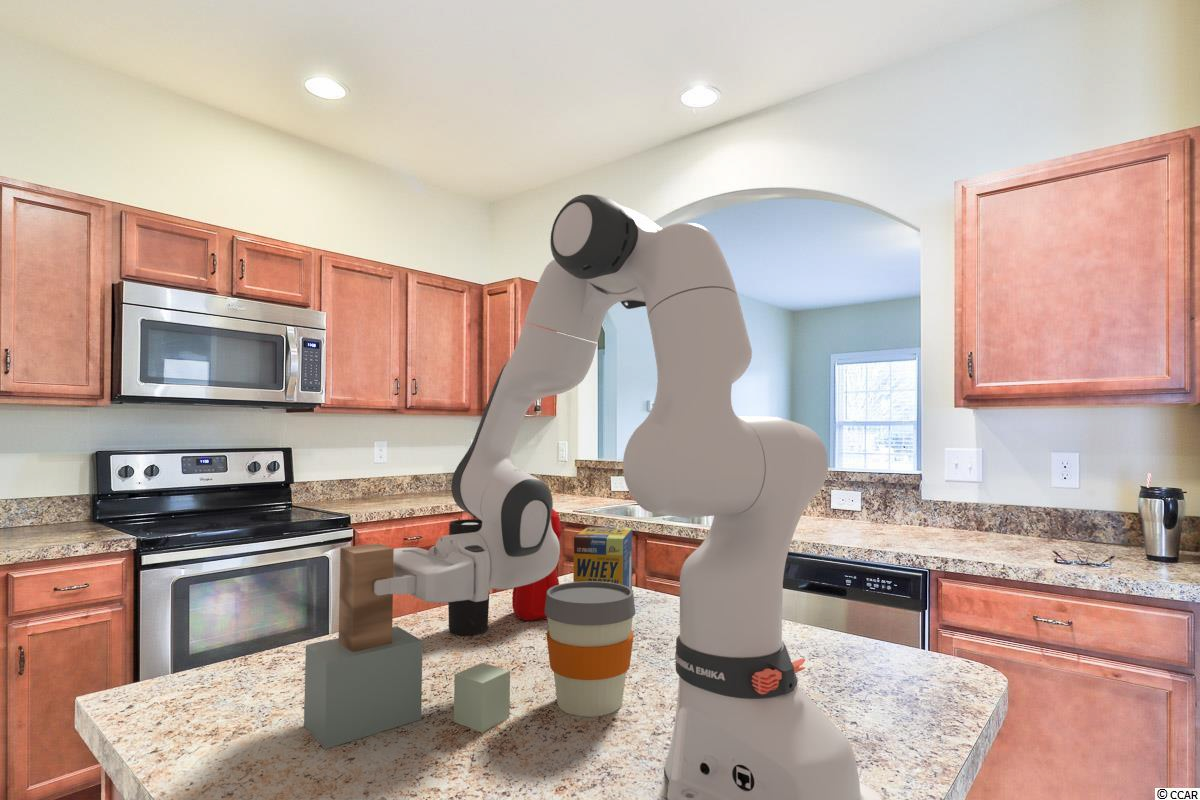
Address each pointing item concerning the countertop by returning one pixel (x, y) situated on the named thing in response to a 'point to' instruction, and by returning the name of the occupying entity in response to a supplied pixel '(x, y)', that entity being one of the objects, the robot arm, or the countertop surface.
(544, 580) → the water bottle
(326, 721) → the base block
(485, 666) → the cube
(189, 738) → the countertop surface
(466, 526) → the travel mug
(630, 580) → the protein box
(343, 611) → the pillar
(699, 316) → the robot arm
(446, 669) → the countertop surface
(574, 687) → the reusable coffee cup
